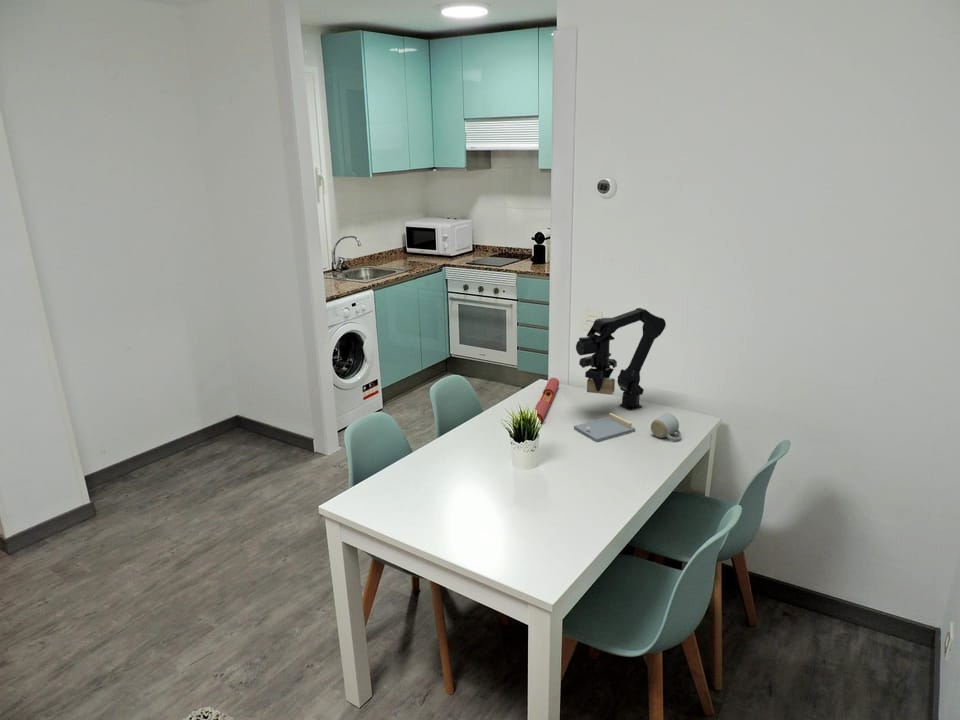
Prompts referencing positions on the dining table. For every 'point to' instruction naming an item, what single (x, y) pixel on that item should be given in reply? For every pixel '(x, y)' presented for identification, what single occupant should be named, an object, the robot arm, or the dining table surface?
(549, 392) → the blood vessel
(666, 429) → the ceramic mug
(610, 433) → the grey flat panel
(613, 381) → the frame
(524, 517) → the dining table surface
